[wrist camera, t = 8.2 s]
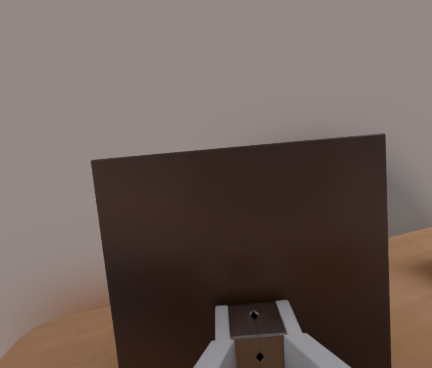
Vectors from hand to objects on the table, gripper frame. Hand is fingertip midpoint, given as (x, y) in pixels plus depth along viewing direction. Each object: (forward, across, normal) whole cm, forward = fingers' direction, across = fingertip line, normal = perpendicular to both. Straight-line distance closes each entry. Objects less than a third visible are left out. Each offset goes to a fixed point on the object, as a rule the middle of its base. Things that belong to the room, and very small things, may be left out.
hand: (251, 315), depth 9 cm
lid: (+1, 0, 0) cm, 1 cm away
